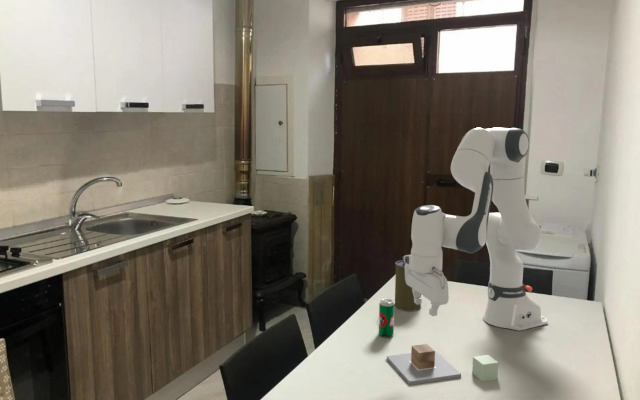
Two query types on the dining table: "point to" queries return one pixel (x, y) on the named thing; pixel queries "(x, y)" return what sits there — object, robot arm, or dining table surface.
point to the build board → (416, 375)
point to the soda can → (386, 318)
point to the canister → (403, 290)
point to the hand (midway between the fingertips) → (425, 309)
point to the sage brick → (485, 367)
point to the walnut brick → (423, 356)
